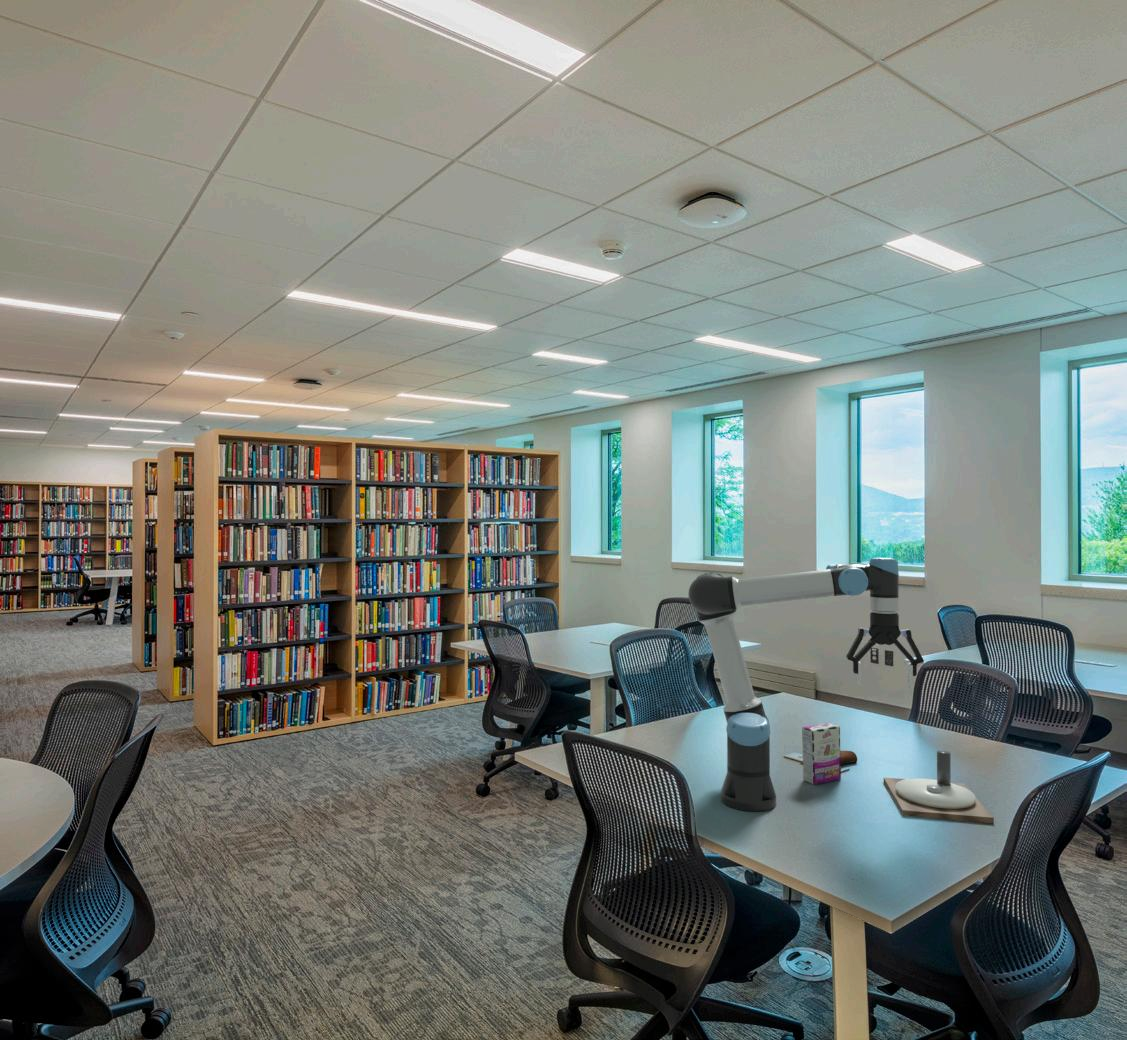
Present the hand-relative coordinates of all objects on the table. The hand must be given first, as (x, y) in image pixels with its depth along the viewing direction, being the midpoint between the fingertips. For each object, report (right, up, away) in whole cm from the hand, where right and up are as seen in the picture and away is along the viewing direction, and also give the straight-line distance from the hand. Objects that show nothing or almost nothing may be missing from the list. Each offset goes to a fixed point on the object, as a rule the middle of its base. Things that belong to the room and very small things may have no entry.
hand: (884, 686), depth 209 cm
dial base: (+13, -32, -3) cm, 34 cm away
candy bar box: (-13, -32, +14) cm, 37 cm away
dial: (+13, -30, -3) cm, 33 cm away
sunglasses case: (-5, -33, +30) cm, 44 cm away
